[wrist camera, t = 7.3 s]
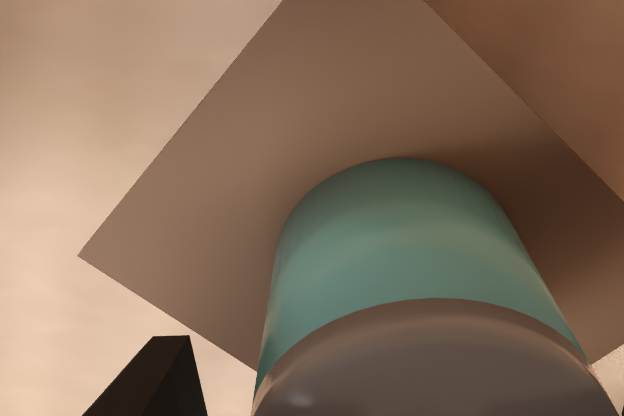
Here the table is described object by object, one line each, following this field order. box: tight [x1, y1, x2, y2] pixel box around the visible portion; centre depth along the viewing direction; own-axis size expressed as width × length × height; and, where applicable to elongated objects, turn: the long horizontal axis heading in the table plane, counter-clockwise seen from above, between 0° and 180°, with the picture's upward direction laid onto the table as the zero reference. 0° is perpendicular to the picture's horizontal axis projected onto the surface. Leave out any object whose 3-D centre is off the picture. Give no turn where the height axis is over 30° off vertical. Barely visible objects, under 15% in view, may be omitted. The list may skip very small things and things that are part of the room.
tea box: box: [78, 0, 624, 372], centre depth 14 cm, size 10×8×4 cm
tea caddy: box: [251, 158, 619, 416], centre depth 10 cm, size 5×5×5 cm
